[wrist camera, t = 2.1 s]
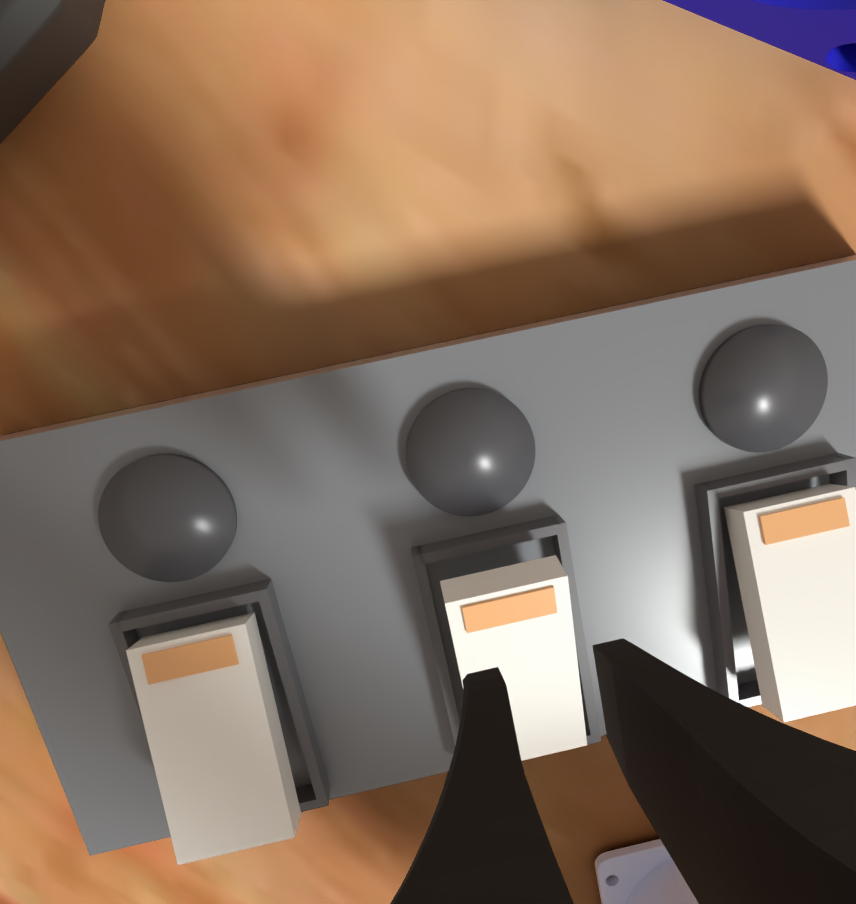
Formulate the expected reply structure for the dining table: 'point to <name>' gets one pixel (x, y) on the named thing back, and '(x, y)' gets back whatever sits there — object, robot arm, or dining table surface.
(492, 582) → the rocker middle
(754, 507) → the rocker
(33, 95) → the usb drive
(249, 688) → the rocker
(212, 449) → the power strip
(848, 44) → the blue pipe cradle
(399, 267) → the dining table surface
